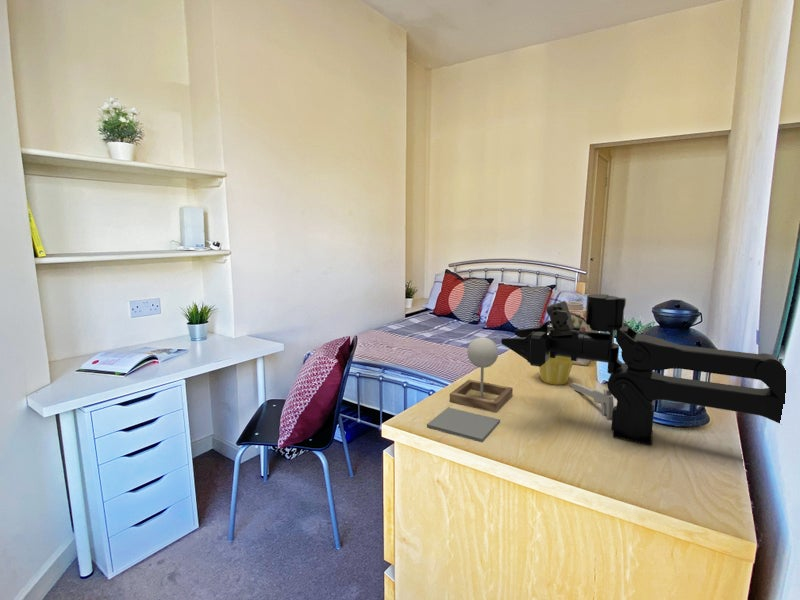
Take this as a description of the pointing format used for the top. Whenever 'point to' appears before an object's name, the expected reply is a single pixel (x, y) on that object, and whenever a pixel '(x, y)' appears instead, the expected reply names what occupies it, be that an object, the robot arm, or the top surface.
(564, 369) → the plant pot
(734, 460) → the top surface
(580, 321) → the decorative jar
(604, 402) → the caliper
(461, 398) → the brown wooden square frame
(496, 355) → the lollipop
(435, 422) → the mat
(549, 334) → the robot arm
